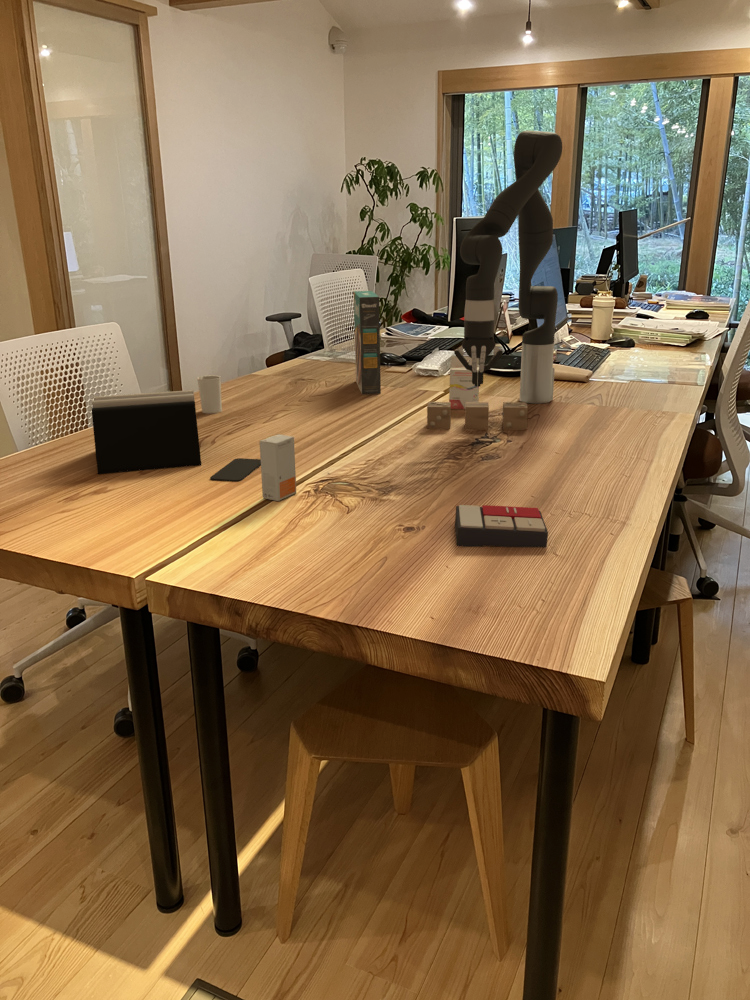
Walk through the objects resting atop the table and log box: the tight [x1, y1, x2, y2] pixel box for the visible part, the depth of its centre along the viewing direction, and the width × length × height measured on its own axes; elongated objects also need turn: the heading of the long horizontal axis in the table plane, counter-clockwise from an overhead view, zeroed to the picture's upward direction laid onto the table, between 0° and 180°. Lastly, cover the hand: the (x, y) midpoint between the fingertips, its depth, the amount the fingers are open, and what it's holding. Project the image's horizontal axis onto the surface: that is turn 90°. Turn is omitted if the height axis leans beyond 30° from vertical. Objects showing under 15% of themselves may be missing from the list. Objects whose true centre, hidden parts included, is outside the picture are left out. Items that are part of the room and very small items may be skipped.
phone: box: [209, 457, 261, 483], centre depth 174 cm, size 7×1×15 cm
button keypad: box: [454, 504, 549, 548], centre depth 135 cm, size 11×4×15 cm
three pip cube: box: [426, 401, 452, 430], centre depth 207 cm, size 6×6×6 cm
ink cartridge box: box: [448, 355, 480, 410], centre depth 225 cm, size 9×5×15 cm, turn 84°
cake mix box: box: [352, 290, 382, 395], centre depth 253 cm, size 22×6×30 cm, turn 6°
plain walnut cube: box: [464, 401, 490, 431], centre depth 206 cm, size 6×6×6 cm
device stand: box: [91, 389, 202, 475], centre depth 183 cm, size 22×22×15 cm
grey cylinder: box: [197, 374, 223, 414], centre depth 228 cm, size 7×7×10 cm
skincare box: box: [259, 433, 297, 502], centre depth 155 cm, size 6×4×12 cm
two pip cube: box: [502, 401, 529, 431], centre depth 205 cm, size 6×6×6 cm
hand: (477, 385), depth 203 cm, fingers closed
